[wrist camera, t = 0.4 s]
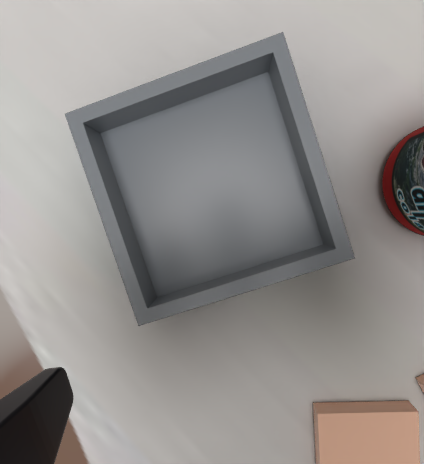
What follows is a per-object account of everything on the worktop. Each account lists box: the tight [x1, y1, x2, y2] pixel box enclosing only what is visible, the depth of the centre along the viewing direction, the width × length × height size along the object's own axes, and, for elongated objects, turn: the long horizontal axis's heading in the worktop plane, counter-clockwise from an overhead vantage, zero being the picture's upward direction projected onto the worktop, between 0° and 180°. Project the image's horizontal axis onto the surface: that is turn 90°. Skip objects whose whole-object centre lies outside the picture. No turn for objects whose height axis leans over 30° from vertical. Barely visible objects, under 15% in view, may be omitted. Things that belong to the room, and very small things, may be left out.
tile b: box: [313, 401, 420, 464], centre depth 21 cm, size 6×6×1 cm
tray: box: [65, 32, 355, 326], centre depth 20 cm, size 13×13×3 cm
